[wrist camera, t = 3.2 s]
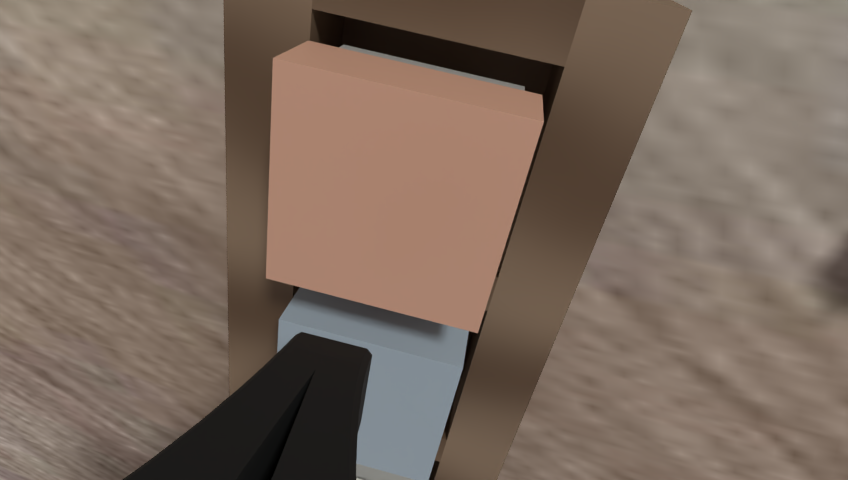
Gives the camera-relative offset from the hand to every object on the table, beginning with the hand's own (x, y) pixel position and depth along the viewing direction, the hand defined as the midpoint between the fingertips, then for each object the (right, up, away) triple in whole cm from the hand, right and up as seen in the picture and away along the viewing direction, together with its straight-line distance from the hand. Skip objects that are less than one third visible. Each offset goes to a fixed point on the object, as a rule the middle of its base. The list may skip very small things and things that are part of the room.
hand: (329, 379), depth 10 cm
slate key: (0, -1, +8) cm, 8 cm away
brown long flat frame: (+1, 0, +10) cm, 10 cm away
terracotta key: (+2, +5, +4) cm, 6 cm away
